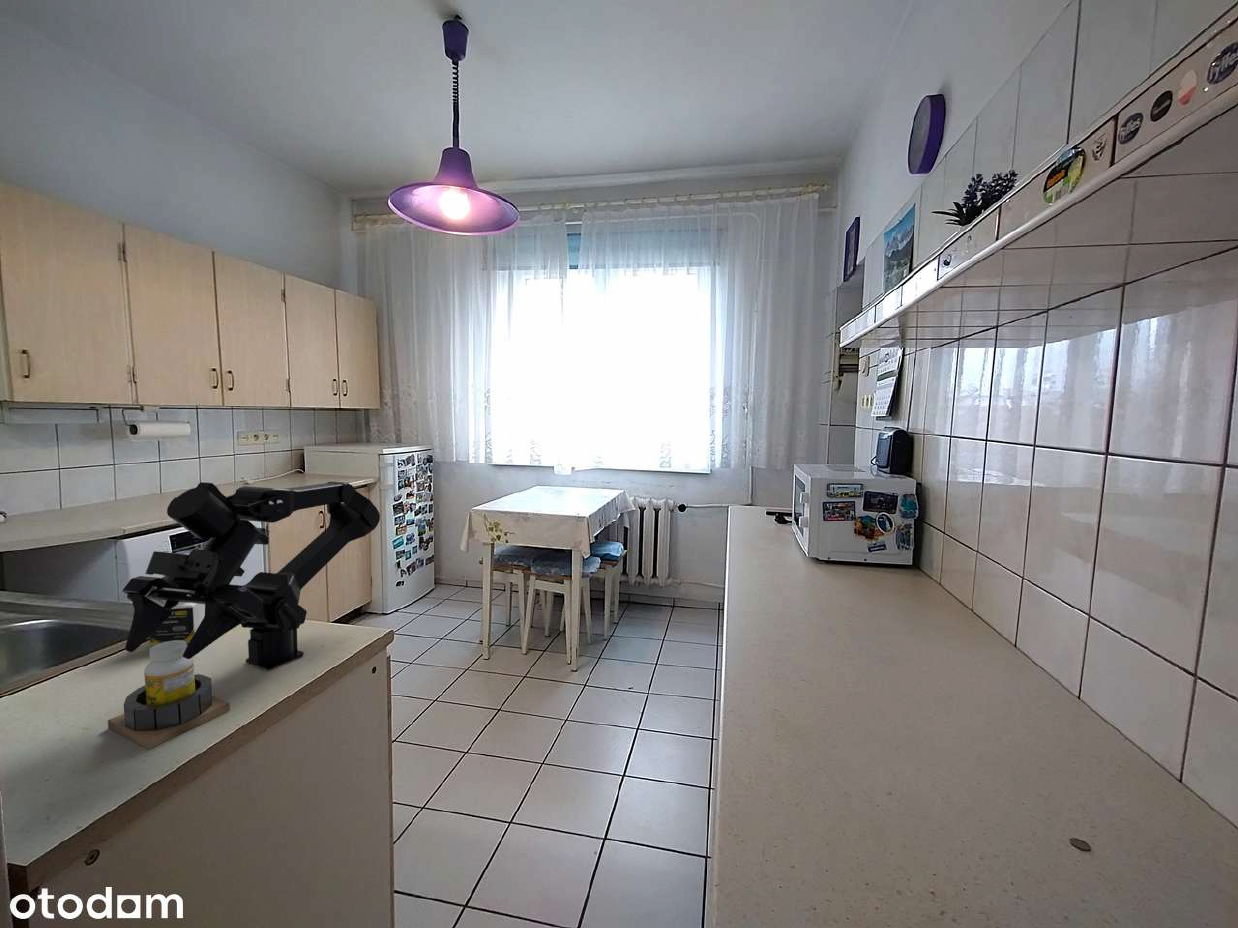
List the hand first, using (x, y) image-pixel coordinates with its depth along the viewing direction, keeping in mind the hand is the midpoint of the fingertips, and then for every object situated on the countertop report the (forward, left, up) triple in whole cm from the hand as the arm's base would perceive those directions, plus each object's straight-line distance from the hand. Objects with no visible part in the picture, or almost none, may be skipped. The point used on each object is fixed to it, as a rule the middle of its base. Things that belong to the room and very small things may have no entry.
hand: (156, 654), depth 74 cm
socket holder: (-1, 0, -10) cm, 10 cm away
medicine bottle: (-17, -29, -10) cm, 35 cm away
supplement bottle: (-2, 0, -9) cm, 9 cm away
